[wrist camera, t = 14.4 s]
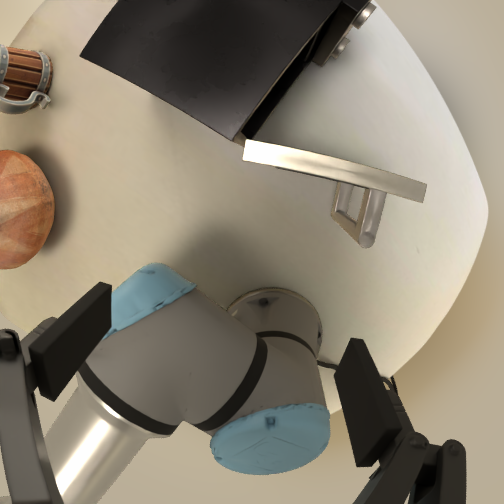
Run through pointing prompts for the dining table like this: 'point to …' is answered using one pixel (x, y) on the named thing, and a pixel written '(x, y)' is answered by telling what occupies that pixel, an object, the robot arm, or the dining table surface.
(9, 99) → the mug
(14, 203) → the jug
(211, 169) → the dining table surface
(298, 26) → the microwave
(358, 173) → the microwave door
